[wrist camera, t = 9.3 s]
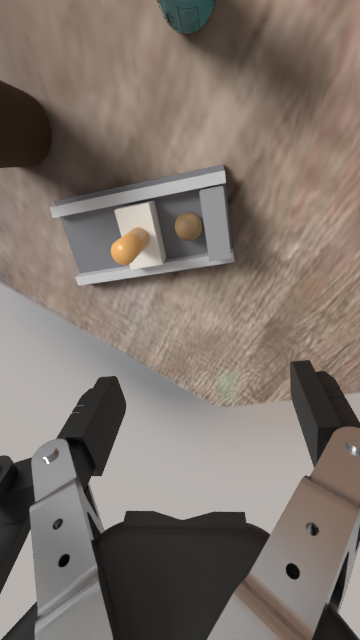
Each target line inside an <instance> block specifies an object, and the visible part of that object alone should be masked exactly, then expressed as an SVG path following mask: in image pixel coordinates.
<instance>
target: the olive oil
mask: <svg viewBox="0 0 360 640" xmlns="http://www.w3.org/2000/svg"><path fill="white" fill-rule="evenodd" d="M50 144H51V131H50V126H49V122H48V119H47V117H46V115H45V113H44V111H43V109H42V108H41V106H40V105H39V104H38V103H37V102H36V100H35V99H33V98H32V97H31V96H30V95H28V94H27V93H25V92H23V91H22V90H19V89H17V88H15V87H13V86H11V85H9V84H6V83H5V82H3V81H1V80H0V168H6V167H29V166H34V165H37V164H39V163H40V162H41V161H43V160H44V158H45V157H46V156H47V154H48V152H49V149H50Z"/></svg>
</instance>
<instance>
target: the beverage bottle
mask: <svg viewBox="0 0 360 640" xmlns="http://www.w3.org/2000/svg"><path fill="white" fill-rule="evenodd" d="M157 2H159V3H160V5H161V8H162V11H163V14H164V16H165V17H164V18H165V19H166V20H167V22H168V23H169V24H170V26H171V27H172V28H173V29H175V30H176V32H177V31H178V33H179V32H181V34H182V33H183V34H184V33H190V34H191V33H193V32H195V31H196V32H197V30H200V28H201V27H202V26H203V25H204V24H205V23H206V22H207V20H208V19H209V17H210V15H211V13H212V10H213V7H214V5H216V4H215V0H159V1H157ZM159 3H158V4H159ZM159 7H160V6H159ZM160 10H161V9H160ZM213 11H214V10H213ZM167 22H166V23H167ZM175 30H174V31H175Z"/></svg>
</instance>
